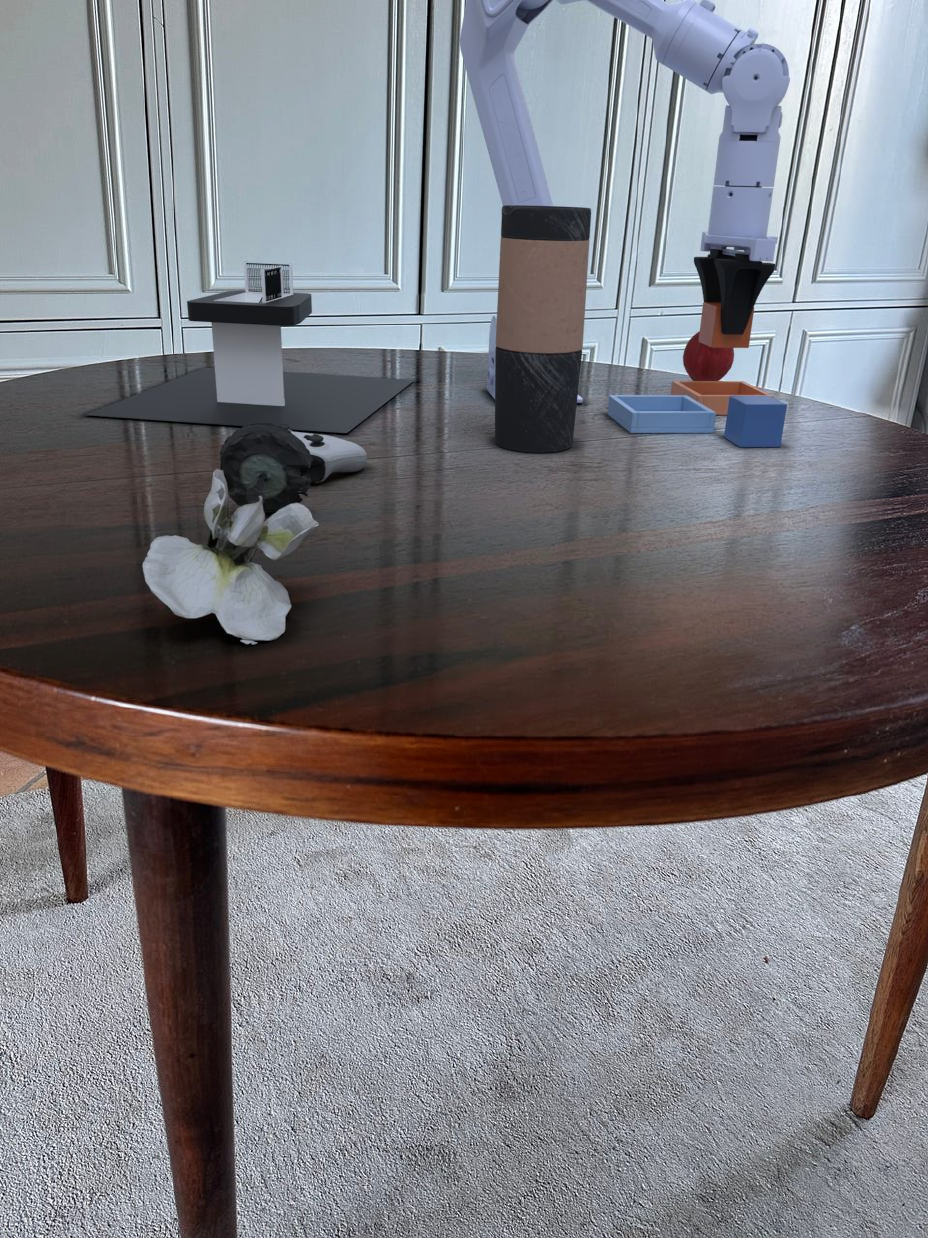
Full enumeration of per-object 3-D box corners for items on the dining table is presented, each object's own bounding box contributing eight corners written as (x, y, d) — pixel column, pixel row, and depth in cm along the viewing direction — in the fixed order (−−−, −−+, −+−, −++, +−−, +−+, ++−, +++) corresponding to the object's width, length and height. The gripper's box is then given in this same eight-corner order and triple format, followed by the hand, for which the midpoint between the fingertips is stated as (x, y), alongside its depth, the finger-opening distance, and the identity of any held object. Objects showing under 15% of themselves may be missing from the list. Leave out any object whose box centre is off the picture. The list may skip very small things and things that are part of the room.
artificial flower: (336, 528, 71) (370, 399, 66) (262, 713, 52) (303, 550, 46) (213, 491, 70) (239, 358, 65) (92, 666, 51) (115, 495, 46)
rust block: (711, 347, 100) (716, 306, 99) (698, 341, 104) (702, 302, 103) (749, 348, 101) (754, 307, 99) (734, 342, 105) (739, 302, 103)
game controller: (373, 455, 81) (350, 414, 76) (354, 513, 79) (329, 475, 74) (269, 443, 84) (239, 402, 78) (248, 498, 82) (217, 461, 77)
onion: (734, 394, 115) (744, 323, 112) (684, 392, 115) (693, 321, 112) (723, 385, 120) (732, 316, 117) (675, 383, 120) (683, 315, 117)
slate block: (739, 447, 91) (745, 404, 90) (723, 437, 95) (729, 395, 93) (780, 447, 92) (787, 404, 90) (763, 436, 95) (769, 395, 94)
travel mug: (586, 439, 92) (604, 207, 84) (558, 458, 86) (575, 208, 78) (510, 429, 95) (521, 204, 87) (478, 446, 89) (486, 205, 81)
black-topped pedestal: (346, 434, 92) (343, 282, 86) (84, 416, 96) (65, 270, 90) (414, 381, 117) (415, 261, 111) (204, 368, 121) (195, 252, 115)
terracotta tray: (696, 414, 104) (698, 395, 103) (670, 398, 111) (672, 380, 111) (771, 414, 105) (774, 395, 104) (741, 398, 113) (743, 380, 112)
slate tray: (630, 433, 95) (632, 412, 95) (607, 414, 103) (608, 394, 102) (713, 432, 97) (716, 412, 96) (684, 414, 104) (686, 395, 103)
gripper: (815, 188, 90) (791, 341, 96) (753, 187, 104) (735, 321, 109) (741, 186, 90) (721, 340, 95) (688, 185, 103) (673, 321, 108)
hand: (724, 330), depth 102 cm, fingers closed on rust block, 4 cm apart
